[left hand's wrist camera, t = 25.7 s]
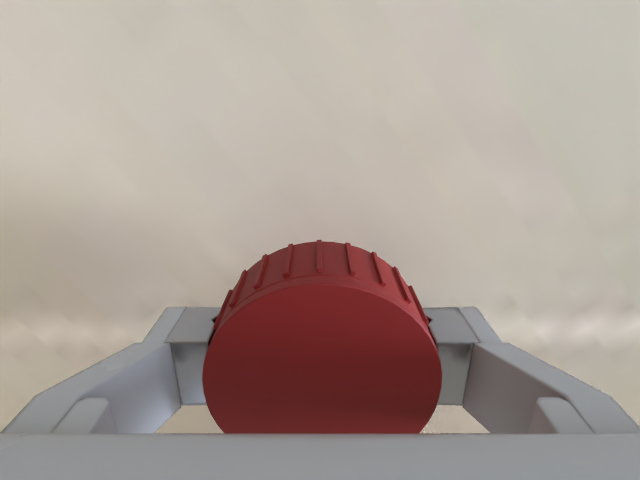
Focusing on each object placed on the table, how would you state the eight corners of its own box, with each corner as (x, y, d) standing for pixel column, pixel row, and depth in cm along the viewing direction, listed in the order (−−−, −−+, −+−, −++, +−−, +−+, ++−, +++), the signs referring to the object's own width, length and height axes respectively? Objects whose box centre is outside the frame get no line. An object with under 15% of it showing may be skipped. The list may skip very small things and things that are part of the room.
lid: (457, 342, 10) (491, 403, 8) (308, 432, 12) (306, 504, 10) (339, 195, 9) (344, 227, 7) (180, 317, 10) (146, 375, 8)
